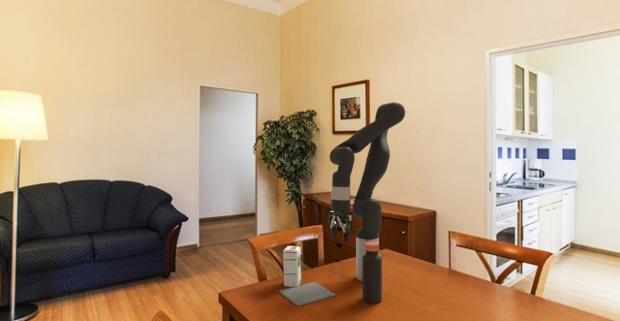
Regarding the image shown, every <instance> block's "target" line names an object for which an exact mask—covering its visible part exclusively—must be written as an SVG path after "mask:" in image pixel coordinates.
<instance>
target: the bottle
mask: <svg viewBox="0 0 620 321" xmlns="http://www.w3.org/2000/svg"><path fill="white" fill-rule="evenodd" d="M365 251H366V254H365V255H364V256H363V257H362V281H361V282H362V283H361V285H362V286H361V287H362V288H361V289H362V294H361V295H362V301H364V302H366V303H369V304H379V303H381V302H382V300H383V258H382V256H381V254H380V242H379V243H377V242H366V243H365ZM378 252H379V254H378Z"/></svg>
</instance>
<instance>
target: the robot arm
mask: <svg viewBox="0 0 620 321" xmlns="http://www.w3.org/2000/svg"><path fill="white" fill-rule="evenodd" d="M405 116H406V110H405V107H404V105H403V104H402V103H400V102H396V101H394V102H393V101H392V102H387V103H383V104H381V105H379V107H378V108H377V109H376V113H375V117H374V121H373V122H370V123H369V124H367V125H365V126H363V127H362V128H360V129H358V130H357V131H356V132H355V133H354V134H352V135H351V136H350V137H349V138H348V139H347V140H344V141H343V142H341V143H340V144H338V145H336V146H335V147H334V148H332V149H331V151H330V154H329V160H330V162H331V163H332V164H333V165H336V166H337V170H336V171H334V172H333V173H332V177H331V179H332V182H331V192H330V193H331V194H330V200H331V201H330V211H329V210H328V214H327V215H328V218H327V226H329V228H330V237H331V238H332V239H336V238H337V236H338V225H339V226H340V228H341V229H342V231H343V232H342V241H343V243H349V241H350V233H351V232H353V231H354V217H355V218H356V219H359V220H362V227H360V228H357V229H356V230H355V231H356V232H355V235H356V236H355V240H356V241H355V248H356V249H355V251H356V252H355V255H356V258H355V263H356V264H355V266H356V267H355V268H356V269H355V275H356V277H355V278H356V280H357V281H360V282H362V257H363V256H364V255H365V254H366V251H365V243H366V242H377V243H379V244H380V241H379V240H380V232H381V228H382V213H383V212H382V205H381V203H380V202H379V200H377V199H374V198H372V197H373V193H374V190H375V187H376V186H377V184H379V182H380V180H382V178H383V177H384V176H385V174H386V172H387V169H388V165H389V164H390V163H389V162H390V159H391V158H390V157H391V153H390V152H391V151H390V146H389V143H388V134H389V133H388V132H389V130H390V129H392V128H393V127H395V126H396V125H398V124H400V123H401V122H402V121H403V120H404V118H405ZM368 146H369V148H368V152H367V156H366V160H365V165H364V169H363V173H362V177H361V180H360V184H359V186H358V190H357V192H356V194H355V198H354V201H353V202H352V208H351V175H352V172H353V168H354V164H355V154H359V153H360V152H362V151H364V149H366V148H367V147H368ZM351 210H352V214H353V215H352V214H351V215H349V213H348V212H350V211H351ZM378 254H379V255H380V251H379V252H378Z"/></svg>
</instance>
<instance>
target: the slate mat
mask: <svg viewBox="0 0 620 321" xmlns="http://www.w3.org/2000/svg"><path fill="white" fill-rule="evenodd" d="M278 293H280V294H281V295H282V296H283V297H285V299H287V300H288V301H289V302H291V303H292V304H293V305H295V306H296V307H301V306H305V305H308V304H311V303H316V302H319V301H322V300H326V299H329V298H333V297H336V293H334V292H332V291H331V290H329V289H328V288H326V287H324V286H322V285H321V284H319V283H317V282H316V281H314V282H309V283H306V284H302V285H300V284H299V286H296V287H289V288H284V289H280V290H278Z"/></svg>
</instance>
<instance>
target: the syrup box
mask: <svg viewBox="0 0 620 321" xmlns="http://www.w3.org/2000/svg"><path fill="white" fill-rule="evenodd" d="M282 251H283V285H284V286H285V287H289V288H292V287H296V286H300V284H301V283H302V264H301V263H302V260H301V258H302V257H301V256H302V255H301V254H302V253H301V252H302V250H301V246H296V245H288V246H286V247H285V248H284V249H283V250H282Z"/></svg>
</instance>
